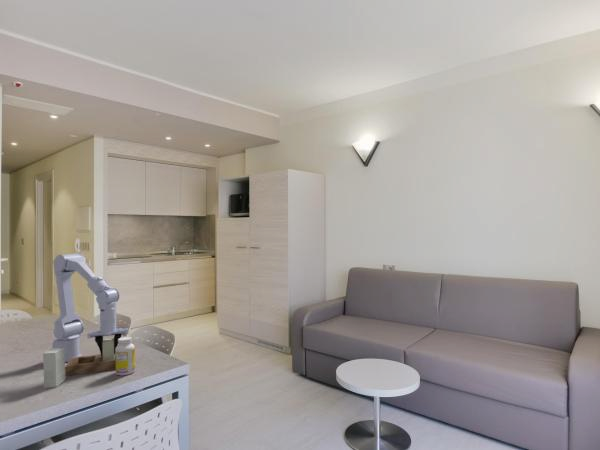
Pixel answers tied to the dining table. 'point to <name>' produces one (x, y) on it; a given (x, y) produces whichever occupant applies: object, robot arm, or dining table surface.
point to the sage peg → (108, 349)
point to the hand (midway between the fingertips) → (108, 354)
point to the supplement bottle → (125, 356)
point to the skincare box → (54, 367)
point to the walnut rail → (88, 364)
